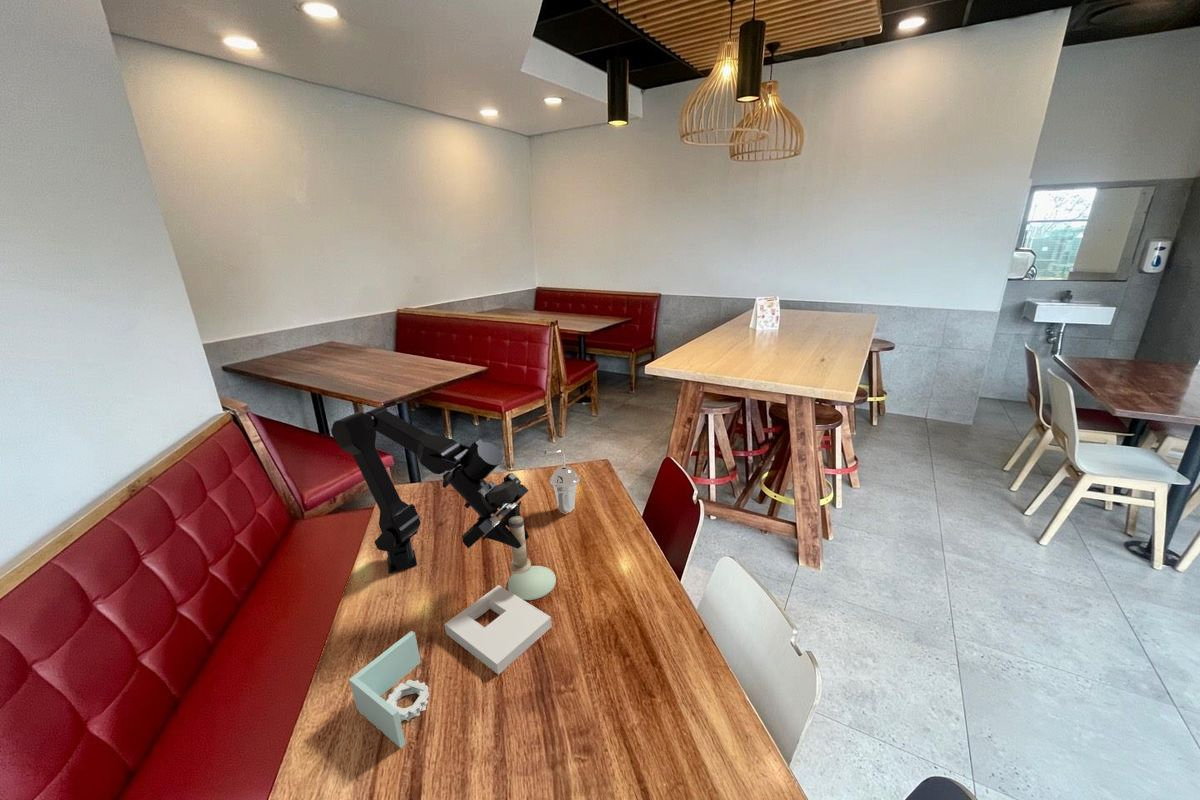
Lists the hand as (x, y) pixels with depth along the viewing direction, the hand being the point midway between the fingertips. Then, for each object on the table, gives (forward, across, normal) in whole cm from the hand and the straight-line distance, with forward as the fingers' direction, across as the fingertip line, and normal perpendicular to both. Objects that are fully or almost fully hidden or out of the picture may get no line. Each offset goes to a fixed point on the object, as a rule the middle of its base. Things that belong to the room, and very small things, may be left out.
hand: (523, 542), depth 101 cm
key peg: (+4, 0, +6) cm, 7 cm away
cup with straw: (+5, +34, +14) cm, 38 cm away
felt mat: (+9, +4, +10) cm, 14 cm away
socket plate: (+9, -11, +10) cm, 18 cm away
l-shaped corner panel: (+5, -29, +15) cm, 33 cm away
